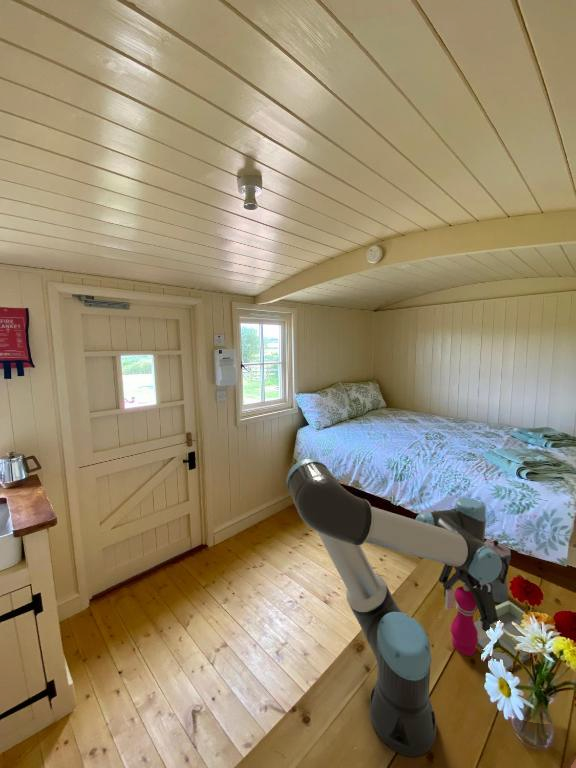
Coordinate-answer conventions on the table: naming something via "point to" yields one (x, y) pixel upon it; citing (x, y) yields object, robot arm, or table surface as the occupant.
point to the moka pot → (501, 581)
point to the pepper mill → (464, 622)
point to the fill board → (506, 615)
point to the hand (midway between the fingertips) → (464, 622)
